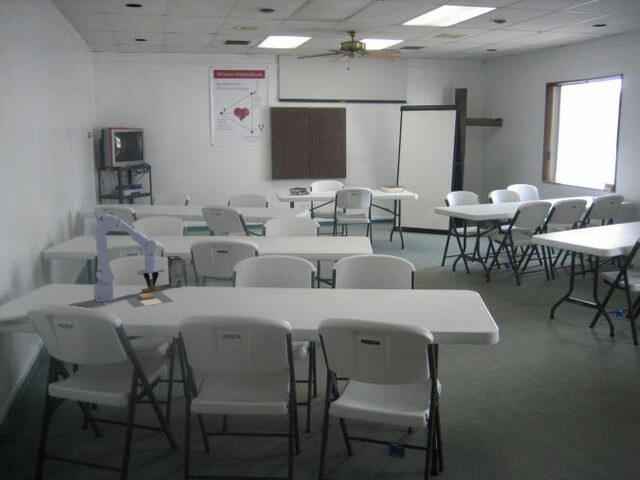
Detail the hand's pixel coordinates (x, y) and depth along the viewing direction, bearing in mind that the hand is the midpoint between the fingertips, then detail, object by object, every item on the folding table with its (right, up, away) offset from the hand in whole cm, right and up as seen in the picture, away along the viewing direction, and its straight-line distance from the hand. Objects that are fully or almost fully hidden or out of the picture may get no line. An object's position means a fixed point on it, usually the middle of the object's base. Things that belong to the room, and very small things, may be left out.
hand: (151, 286), depth 330 cm
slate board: (+2, -6, -14) cm, 16 cm away
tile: (+1, -5, -12) cm, 13 cm away
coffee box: (+10, -1, +16) cm, 18 cm away
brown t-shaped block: (0, -3, +1) cm, 3 cm away
